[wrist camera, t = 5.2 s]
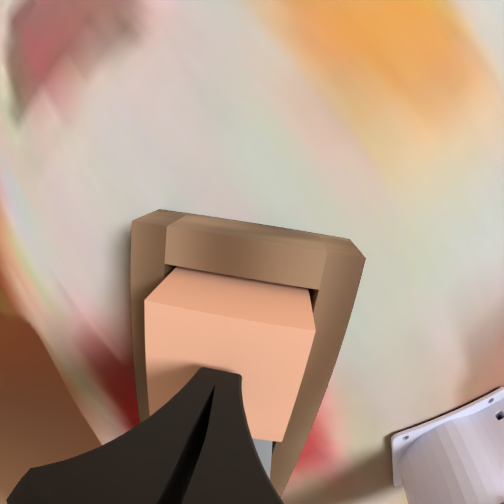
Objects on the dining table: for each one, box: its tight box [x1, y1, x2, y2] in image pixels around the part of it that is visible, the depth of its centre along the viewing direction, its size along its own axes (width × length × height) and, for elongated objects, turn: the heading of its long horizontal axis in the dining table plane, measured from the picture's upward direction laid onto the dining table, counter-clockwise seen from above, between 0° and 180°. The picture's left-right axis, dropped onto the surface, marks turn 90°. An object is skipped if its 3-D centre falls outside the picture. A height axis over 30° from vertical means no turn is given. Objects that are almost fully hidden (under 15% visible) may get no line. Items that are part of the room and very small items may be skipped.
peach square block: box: [144, 266, 316, 442], centre depth 12 cm, size 5×5×4 cm
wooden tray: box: [130, 209, 366, 497], centre depth 16 cm, size 9×25×3 cm, turn 172°
